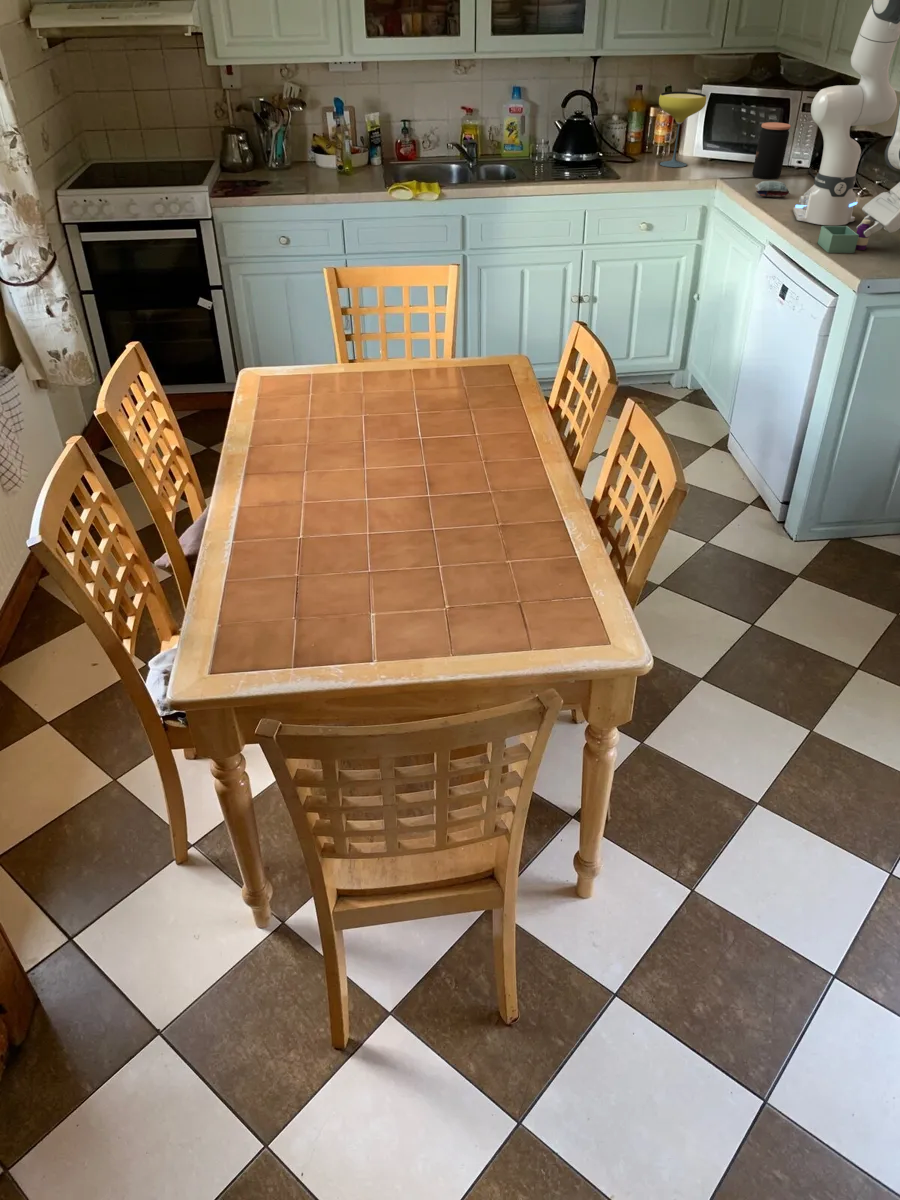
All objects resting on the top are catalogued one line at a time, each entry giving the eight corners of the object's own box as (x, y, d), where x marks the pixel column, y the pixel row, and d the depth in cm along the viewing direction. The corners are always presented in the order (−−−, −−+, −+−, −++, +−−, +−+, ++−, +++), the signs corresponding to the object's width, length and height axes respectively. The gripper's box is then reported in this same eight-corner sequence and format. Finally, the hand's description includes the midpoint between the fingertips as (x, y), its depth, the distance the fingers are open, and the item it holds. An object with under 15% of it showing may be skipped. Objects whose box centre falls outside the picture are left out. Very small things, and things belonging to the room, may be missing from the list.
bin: (817, 243, 272) (821, 225, 269) (842, 243, 272) (847, 226, 268) (828, 252, 264) (832, 235, 261) (854, 252, 264) (859, 235, 261)
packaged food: (753, 192, 324) (756, 177, 321) (787, 193, 322) (790, 179, 319) (754, 198, 317) (757, 183, 314) (789, 200, 315) (792, 185, 312)
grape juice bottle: (850, 246, 269) (857, 218, 264) (863, 246, 269) (870, 218, 264) (854, 250, 266) (862, 221, 261) (867, 250, 266) (875, 222, 261)
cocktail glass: (646, 167, 358) (655, 96, 342) (656, 158, 371) (665, 90, 356) (691, 171, 352) (702, 99, 337) (699, 162, 365) (710, 93, 350)
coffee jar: (760, 172, 350) (770, 121, 339) (785, 176, 344) (796, 124, 333) (746, 176, 344) (756, 124, 333) (771, 180, 338) (782, 128, 327)
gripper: (885, 181, 266) (843, 215, 272) (912, 198, 249) (868, 234, 255) (895, 197, 268) (854, 231, 274) (923, 214, 252) (879, 250, 258)
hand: (861, 232), depth 265 cm, fingers closed on grape juice bottle, 4 cm apart
